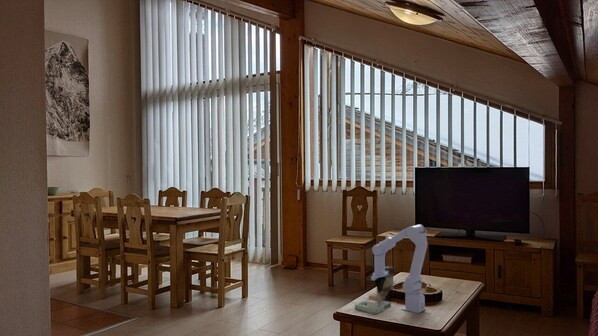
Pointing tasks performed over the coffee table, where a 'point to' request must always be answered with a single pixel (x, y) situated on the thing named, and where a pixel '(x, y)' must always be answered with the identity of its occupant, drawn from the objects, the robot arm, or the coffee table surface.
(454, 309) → the coffee table surface
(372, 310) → the green tray
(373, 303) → the cream tile
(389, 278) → the coffee box
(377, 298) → the terracotta tile
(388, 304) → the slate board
